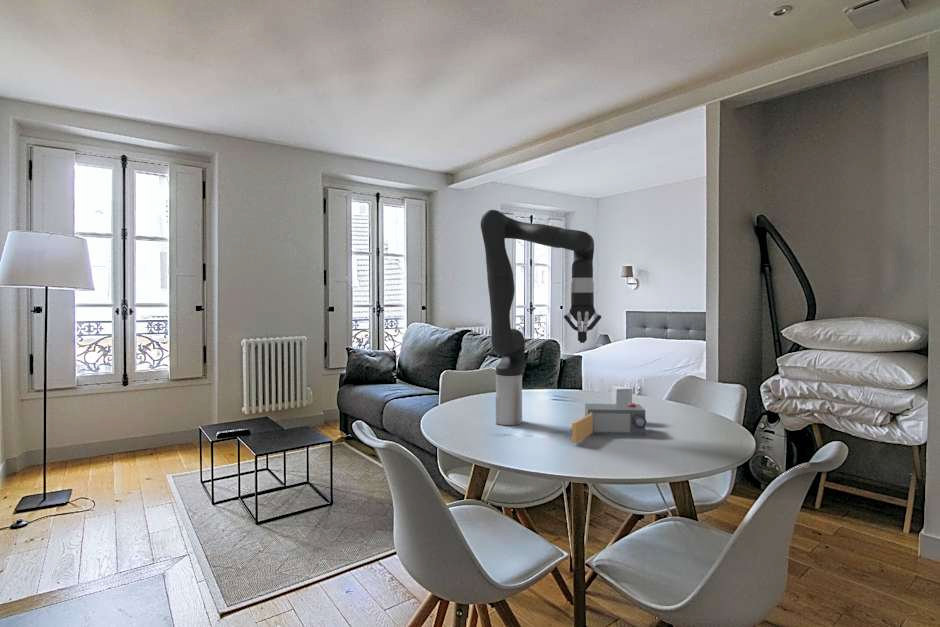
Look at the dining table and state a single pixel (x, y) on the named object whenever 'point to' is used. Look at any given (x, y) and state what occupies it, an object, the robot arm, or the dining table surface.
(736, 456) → the dining table surface
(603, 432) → the camera body
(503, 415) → the robot arm
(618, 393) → the skincare box
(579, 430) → the door
